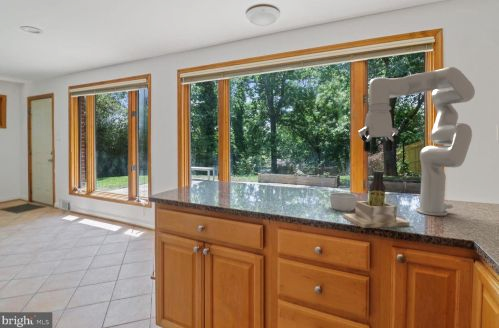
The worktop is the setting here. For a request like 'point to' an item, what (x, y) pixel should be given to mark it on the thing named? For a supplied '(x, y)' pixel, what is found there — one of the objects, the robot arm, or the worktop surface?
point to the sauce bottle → (377, 190)
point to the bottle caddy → (375, 216)
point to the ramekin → (343, 201)
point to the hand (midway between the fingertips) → (377, 151)
